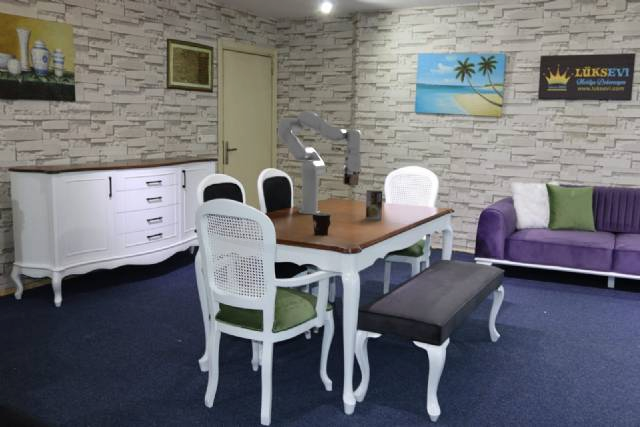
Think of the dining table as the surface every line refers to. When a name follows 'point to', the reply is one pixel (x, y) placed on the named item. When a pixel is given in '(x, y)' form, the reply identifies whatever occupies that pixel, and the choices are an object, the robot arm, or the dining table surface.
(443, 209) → the dining table surface
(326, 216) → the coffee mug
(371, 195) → the coffee box
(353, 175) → the walnut block
